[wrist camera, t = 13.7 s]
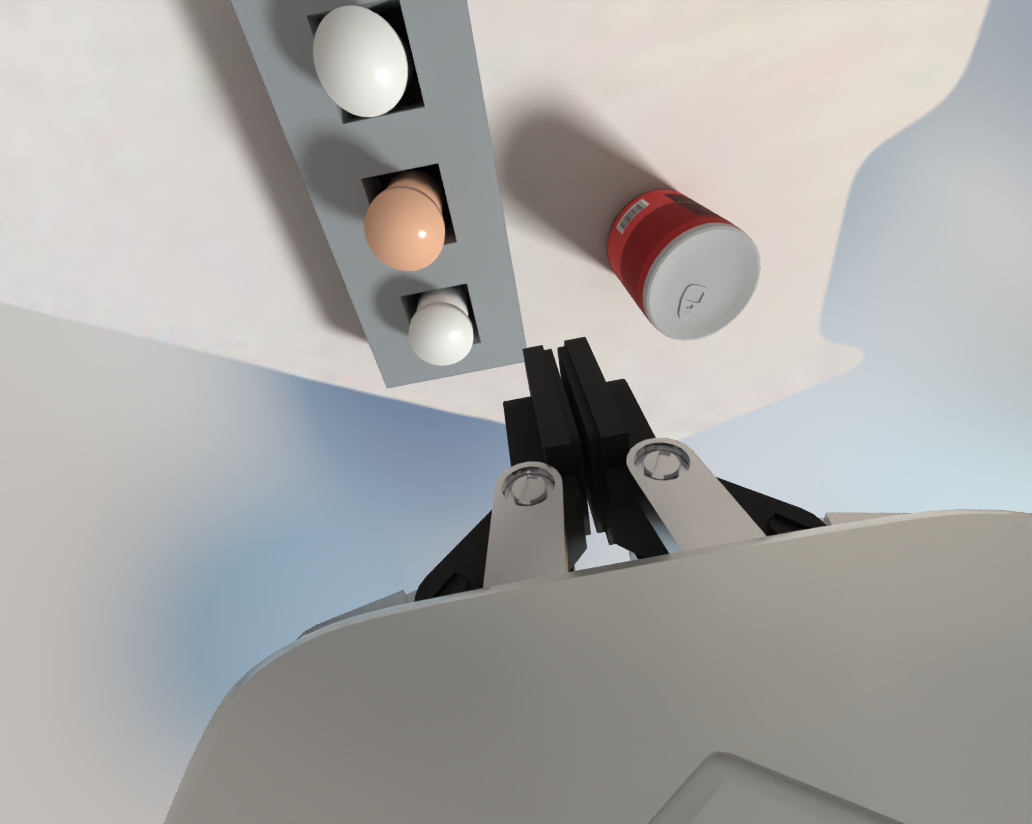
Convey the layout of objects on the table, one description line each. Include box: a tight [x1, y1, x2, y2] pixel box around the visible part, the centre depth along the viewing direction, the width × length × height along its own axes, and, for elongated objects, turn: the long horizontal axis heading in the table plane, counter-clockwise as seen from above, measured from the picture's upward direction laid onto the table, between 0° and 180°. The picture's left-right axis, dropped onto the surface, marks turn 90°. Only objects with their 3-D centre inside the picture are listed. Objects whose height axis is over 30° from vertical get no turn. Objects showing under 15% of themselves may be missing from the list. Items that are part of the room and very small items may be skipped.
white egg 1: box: [313, 5, 413, 117], centre depth 27 cm, size 5×5×8 cm
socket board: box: [231, 0, 527, 388], centre depth 34 cm, size 26×12×6 cm, turn 9°
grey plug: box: [408, 284, 473, 366], centre depth 37 cm, size 5×5×8 cm
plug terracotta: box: [364, 169, 445, 271], centre depth 31 cm, size 5×5×8 cm
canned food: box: [608, 189, 761, 340], centre depth 35 cm, size 8×8×11 cm
